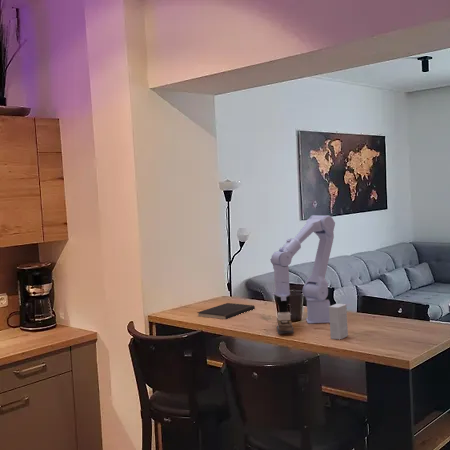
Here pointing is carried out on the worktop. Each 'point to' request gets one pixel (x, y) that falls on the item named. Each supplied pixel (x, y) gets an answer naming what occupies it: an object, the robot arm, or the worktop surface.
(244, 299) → the worktop surface
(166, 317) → the worktop surface
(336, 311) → the skincare box
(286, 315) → the rider
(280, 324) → the beam
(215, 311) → the hardcover book
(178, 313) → the worktop surface
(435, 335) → the worktop surface
